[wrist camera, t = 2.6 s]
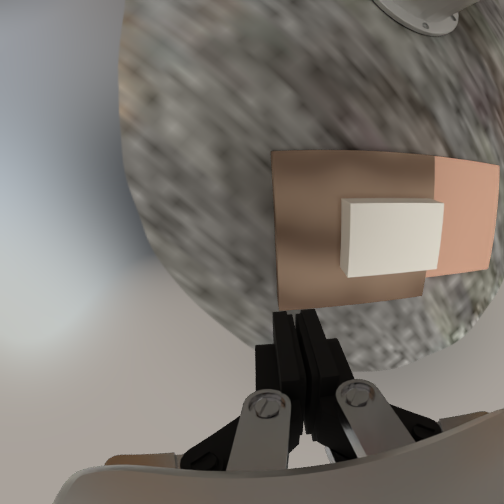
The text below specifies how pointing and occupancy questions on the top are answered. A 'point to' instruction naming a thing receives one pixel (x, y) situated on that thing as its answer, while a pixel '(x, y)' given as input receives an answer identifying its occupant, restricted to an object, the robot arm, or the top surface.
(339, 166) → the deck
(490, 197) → the mat
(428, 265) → the tile
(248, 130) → the top surface
